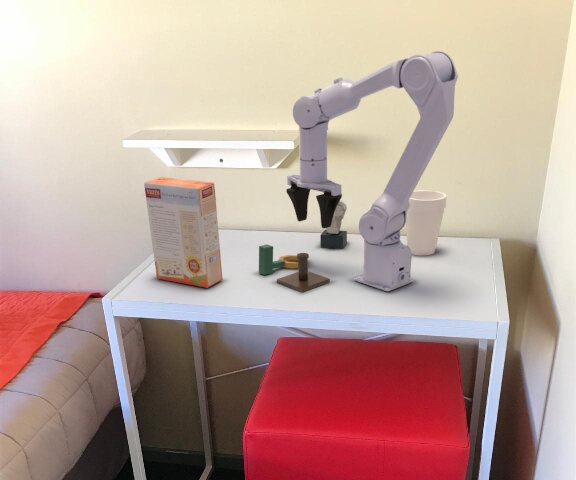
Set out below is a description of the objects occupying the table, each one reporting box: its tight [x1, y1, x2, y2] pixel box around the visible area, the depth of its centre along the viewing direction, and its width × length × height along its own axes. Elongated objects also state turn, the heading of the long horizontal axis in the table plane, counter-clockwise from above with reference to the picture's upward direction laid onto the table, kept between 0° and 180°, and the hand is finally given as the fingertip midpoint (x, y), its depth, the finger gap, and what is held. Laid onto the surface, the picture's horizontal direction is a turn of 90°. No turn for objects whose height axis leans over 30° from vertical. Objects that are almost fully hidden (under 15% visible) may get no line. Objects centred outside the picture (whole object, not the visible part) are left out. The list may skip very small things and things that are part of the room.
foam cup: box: [405, 189, 447, 256], centre depth 152 cm, size 10×9×13 cm
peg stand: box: [276, 252, 331, 293], centre depth 139 cm, size 8×8×6 cm
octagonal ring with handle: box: [258, 244, 298, 276], centre depth 147 cm, size 12×6×6 cm, turn 132°
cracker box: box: [143, 176, 223, 289], centre depth 139 cm, size 14×6×21 cm, turn 59°
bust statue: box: [320, 199, 348, 250], centre depth 158 cm, size 6×8×11 cm
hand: (314, 223), depth 143 cm, fingers open, 7 cm apart
